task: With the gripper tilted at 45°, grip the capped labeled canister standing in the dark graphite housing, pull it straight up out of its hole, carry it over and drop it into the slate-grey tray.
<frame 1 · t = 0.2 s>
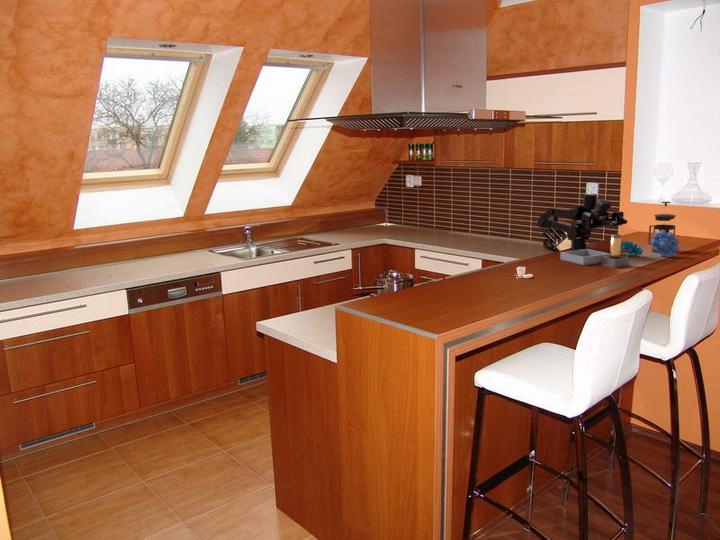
hand: (618, 223, 261), 17 cm above the countertop, tool horizontal, fingers open, 9 cm apart
tray: (585, 260, 268), on the countertop
gear: (629, 256, 274), on the countertop
french press: (662, 251, 281), on the countertop
teacup and saucer: (519, 279, 241), on the countertop
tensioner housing: (614, 265, 256), on the countertop
capped labeled canister: (615, 250, 255), in the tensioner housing
grapes: (663, 257, 268), on the countertop
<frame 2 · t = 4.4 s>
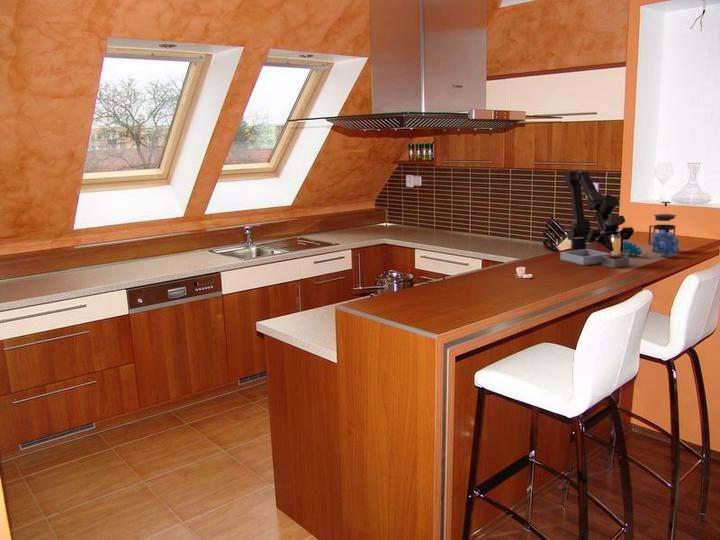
hand: (617, 250, 253), 7 cm above the countertop, tool tilted 45°, fingers closed on capped labeled canister, 4 cm apart
capped labeled canister: (615, 250, 255), in the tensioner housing, touching gripper
everything else where it was.
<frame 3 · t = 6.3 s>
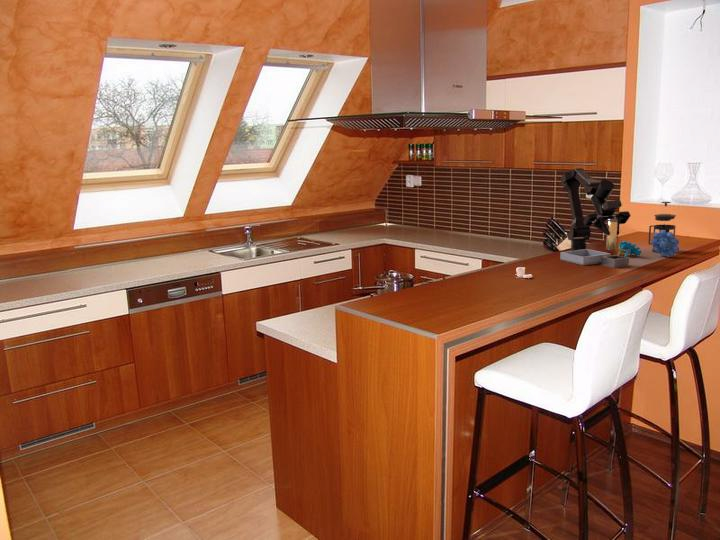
hand: (613, 234, 254), 13 cm above the countertop, tool tilted 45°, fingers closed on capped labeled canister, 4 cm apart
capped labeled canister: (611, 234, 255), point 13 cm above the countertop, touching gripper
everything else where it was.
when the fingers open (9 cm above the countertop, at t = 8.7 s): capped labeled canister drops 2 cm, resting on tray.
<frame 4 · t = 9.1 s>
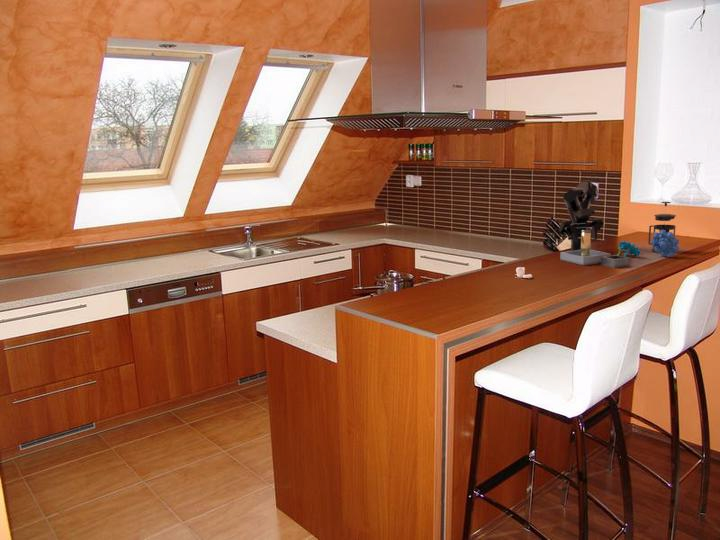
hand: (587, 241, 265), 9 cm above the countertop, tool tilted 45°, fingers open, 8 cm apart
capped labeled canister: (585, 244, 267), in the tray, point 7 cm above the countertop
everything else where it was.
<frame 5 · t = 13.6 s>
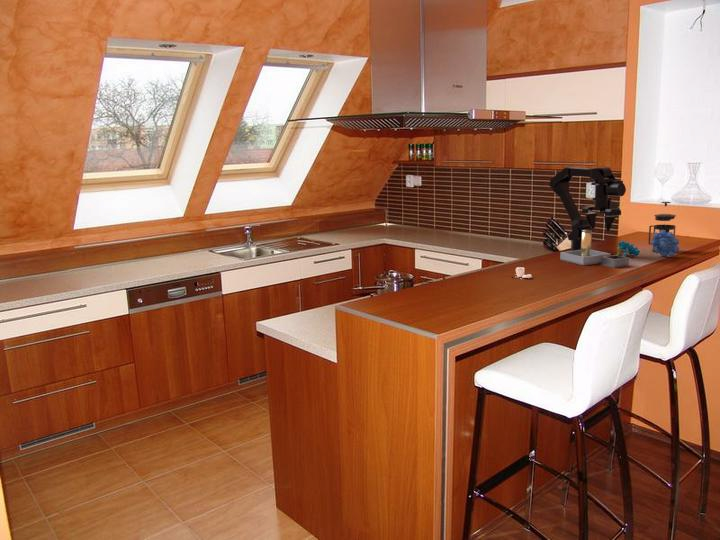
hand: (600, 229, 275), 12 cm above the countertop, tool pointing down, fingers open, 9 cm apart
at the end: capped labeled canister inside the target area on the tray (0.1 cm from its centre), point 7.1 cm above the tray's base; the gripper is holding nothing; capped labeled canister moved 14.8 cm from its start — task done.
